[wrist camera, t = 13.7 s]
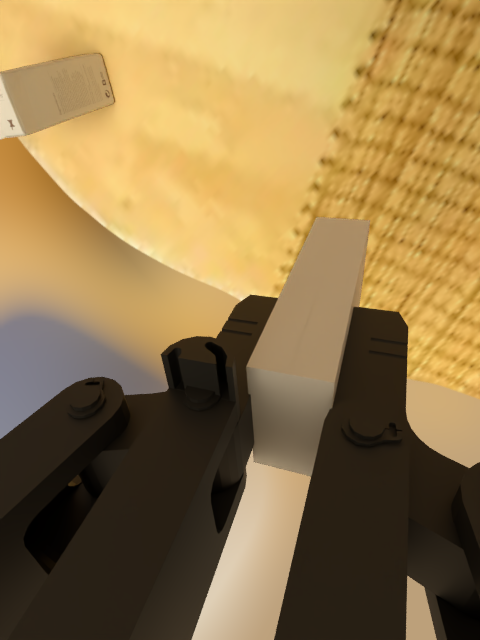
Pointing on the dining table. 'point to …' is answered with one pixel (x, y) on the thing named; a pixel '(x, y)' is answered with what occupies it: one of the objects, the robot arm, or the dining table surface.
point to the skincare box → (51, 93)
